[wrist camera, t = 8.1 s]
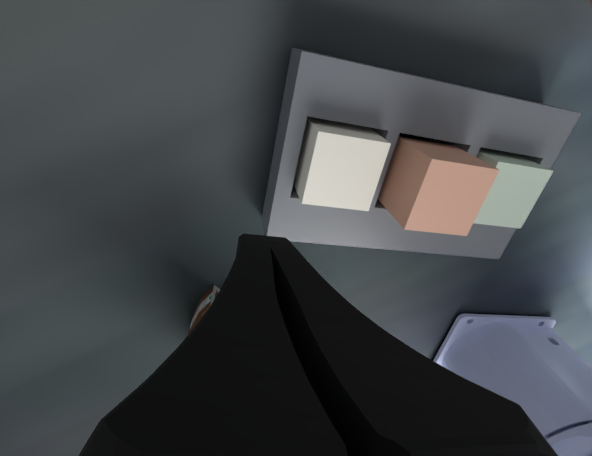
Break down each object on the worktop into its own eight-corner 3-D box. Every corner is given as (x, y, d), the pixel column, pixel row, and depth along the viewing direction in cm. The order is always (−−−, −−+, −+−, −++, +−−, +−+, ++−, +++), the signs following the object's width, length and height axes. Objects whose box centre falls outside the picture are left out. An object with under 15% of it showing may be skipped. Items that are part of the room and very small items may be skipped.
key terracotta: (455, 146, 19) (499, 169, 16) (431, 204, 20) (466, 236, 17) (397, 136, 18) (432, 158, 15) (376, 197, 19) (404, 229, 16)
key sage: (507, 149, 21) (553, 170, 18) (481, 201, 23) (520, 228, 20) (458, 141, 20) (498, 161, 17) (435, 195, 22) (468, 222, 19)
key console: (543, 104, 20) (581, 113, 18) (475, 238, 24) (499, 259, 22) (291, 47, 17) (301, 51, 14) (261, 216, 21) (266, 238, 19)
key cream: (364, 124, 19) (391, 143, 16) (347, 183, 20) (368, 211, 17) (303, 113, 18) (318, 131, 15) (289, 175, 19) (301, 203, 16)
